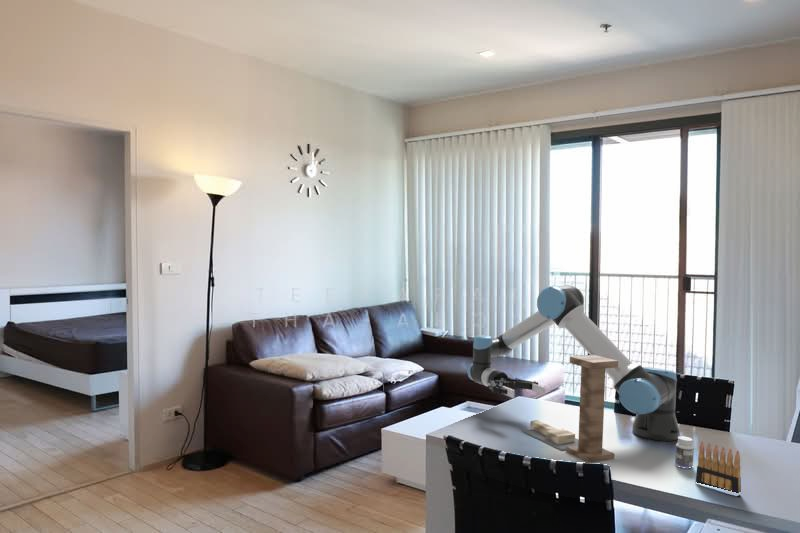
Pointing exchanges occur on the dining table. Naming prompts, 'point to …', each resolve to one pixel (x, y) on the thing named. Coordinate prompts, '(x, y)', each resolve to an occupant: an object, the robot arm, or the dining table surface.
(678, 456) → the pill bottle
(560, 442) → the paddle
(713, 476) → the ammunition clip
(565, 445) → the mat
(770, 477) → the dining table surface
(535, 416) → the dining table surface
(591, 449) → the stand
